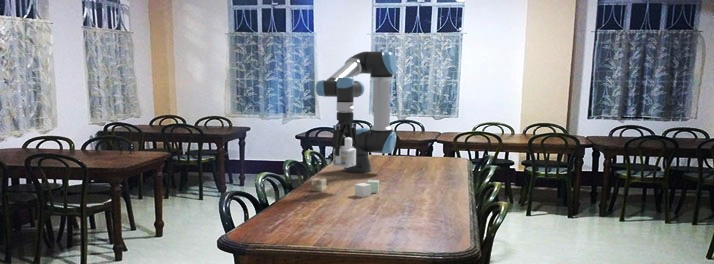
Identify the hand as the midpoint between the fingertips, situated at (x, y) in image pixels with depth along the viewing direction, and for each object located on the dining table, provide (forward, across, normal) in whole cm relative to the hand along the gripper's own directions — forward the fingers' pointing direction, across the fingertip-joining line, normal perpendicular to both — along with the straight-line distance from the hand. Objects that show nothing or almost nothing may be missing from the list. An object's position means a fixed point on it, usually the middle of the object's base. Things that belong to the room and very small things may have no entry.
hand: (344, 161), depth 236 cm
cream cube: (+13, -2, -12) cm, 18 cm away
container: (+2, 0, 0) cm, 2 cm away
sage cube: (+13, +7, -11) cm, 19 cm away
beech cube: (+13, -6, +10) cm, 18 cm away
